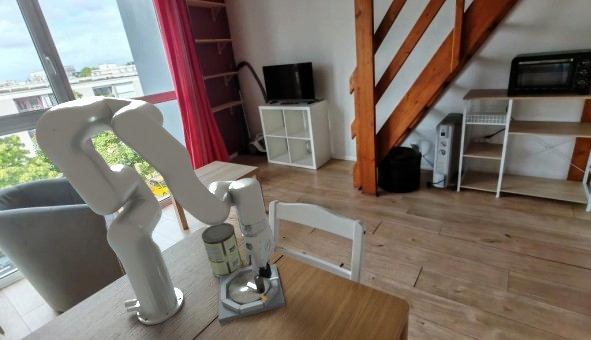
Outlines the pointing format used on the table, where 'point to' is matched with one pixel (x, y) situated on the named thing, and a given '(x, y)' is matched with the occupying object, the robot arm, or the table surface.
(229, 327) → the table surface
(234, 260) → the coffee can
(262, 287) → the dial
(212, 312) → the table surface
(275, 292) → the panel
